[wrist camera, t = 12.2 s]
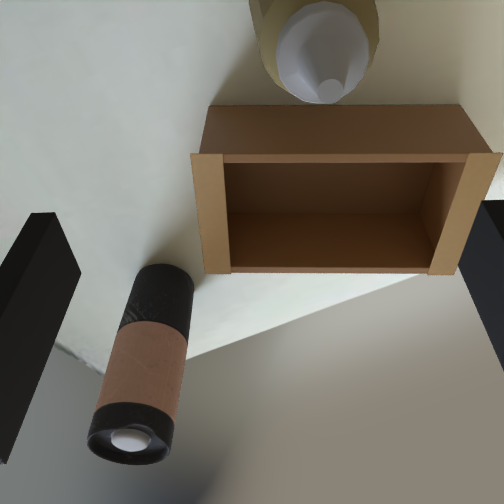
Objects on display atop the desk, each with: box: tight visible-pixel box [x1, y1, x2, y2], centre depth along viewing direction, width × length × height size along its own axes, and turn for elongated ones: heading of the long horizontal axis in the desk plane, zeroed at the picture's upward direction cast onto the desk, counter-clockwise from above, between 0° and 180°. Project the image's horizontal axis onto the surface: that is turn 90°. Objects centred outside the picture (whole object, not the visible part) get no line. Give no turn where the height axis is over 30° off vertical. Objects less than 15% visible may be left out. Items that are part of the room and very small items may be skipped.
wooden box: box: [190, 105, 503, 275], centre depth 41 cm, size 13×23×8 cm, turn 91°
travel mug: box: [87, 264, 194, 465], centre depth 48 cm, size 8×8×20 cm
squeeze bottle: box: [249, 0, 379, 104], centre depth 27 cm, size 8×8×18 cm
